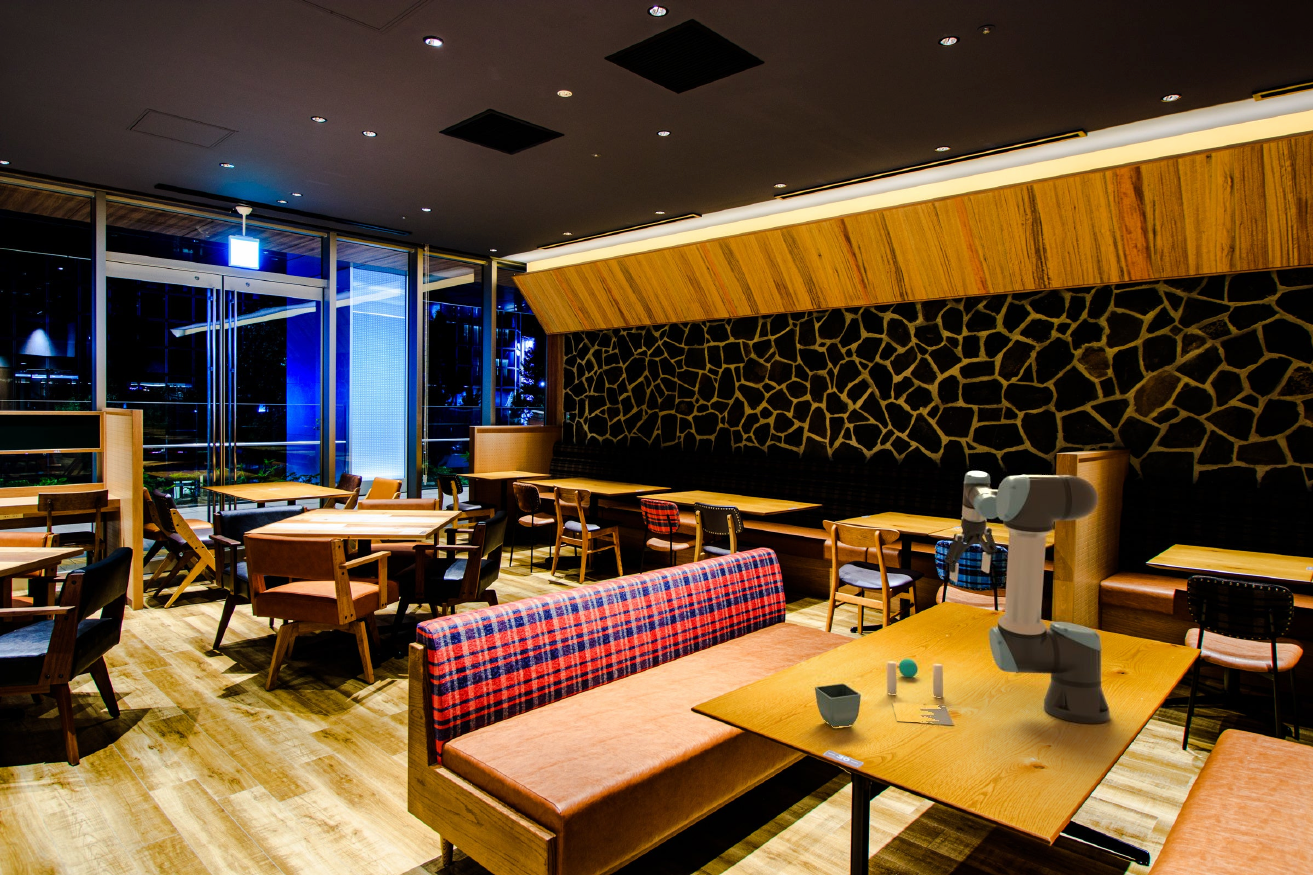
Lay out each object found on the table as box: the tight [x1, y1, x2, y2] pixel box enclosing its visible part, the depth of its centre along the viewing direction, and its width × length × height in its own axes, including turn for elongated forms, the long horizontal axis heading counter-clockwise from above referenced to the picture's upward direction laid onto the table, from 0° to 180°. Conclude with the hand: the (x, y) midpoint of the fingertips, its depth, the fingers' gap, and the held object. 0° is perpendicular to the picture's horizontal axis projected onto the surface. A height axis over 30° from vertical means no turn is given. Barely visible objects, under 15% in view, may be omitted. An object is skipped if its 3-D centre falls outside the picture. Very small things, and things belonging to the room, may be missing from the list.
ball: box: [898, 658, 918, 678], centre depth 222 cm, size 6×6×6 cm
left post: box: [886, 660, 898, 694], centre depth 208 cm, size 3×3×9 cm
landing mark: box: [920, 704, 955, 727], centre depth 193 cm, size 14×14×1 cm
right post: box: [932, 663, 944, 698], centre depth 205 cm, size 3×3×9 cm
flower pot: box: [814, 683, 862, 727], centre depth 186 cm, size 9×9×9 cm
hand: (969, 575), depth 243 cm, fingers open, 13 cm apart
